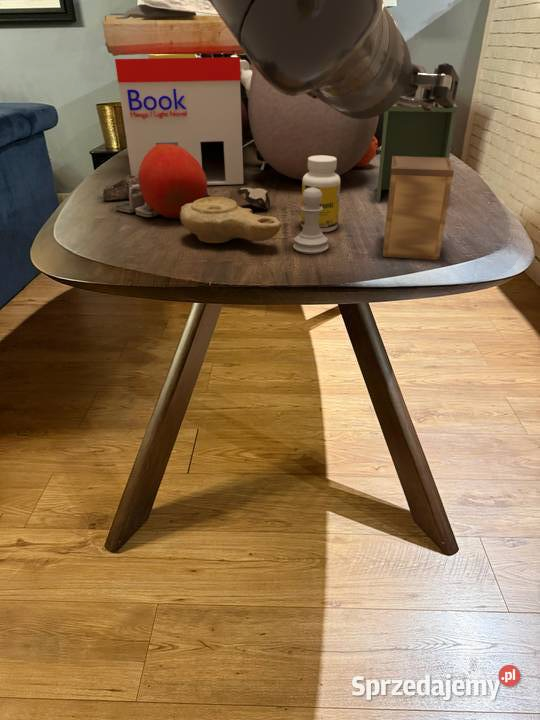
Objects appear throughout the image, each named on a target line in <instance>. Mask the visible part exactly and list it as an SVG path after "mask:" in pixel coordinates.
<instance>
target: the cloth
mask: <svg viewBox="0 0 540 720" xmlns="http://www.w3.org/2000/svg"><path fill="white" fill-rule="evenodd" d="M109 16H123V17H116V18H117V19H127V18H129V17H133V18H161V17H185V16H198V14H197V13H196V12H188V11H180V10H172V9H165V8H157V7H151V6H148V5H146V4H145V3H143V4H141V3H140V4H138V5H135V6H134V7H132V8H130V9H128V10H125V12H118V13H117V12H116V13H110V15H109Z"/></svg>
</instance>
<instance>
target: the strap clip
mask: <svg viewBox="0 0 540 720" xmlns="http://www.w3.org/2000/svg"><path fill="white" fill-rule="evenodd" d="M139 187H140V185H139V184H136V185H132V186H131V187H130V188H129V199H128V202H125V203H122V204H118V205H116V206H115V209H116V210H118V211H119V212H124V213H128V214H131V213H134V212H135V215H137V216H140V217H145V218H152V217H156V216H159V215H161V214H160V213H158V212H157V211H155V210H154V209H152V208H151V207H149V206H148V205H147V204H146V203H145V201H144V198H143V195H142V192H138V193H134V194H132V190H133V189H135V188H139Z"/></svg>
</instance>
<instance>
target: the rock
mask: <svg viewBox="0 0 540 720" xmlns="http://www.w3.org/2000/svg"><path fill="white" fill-rule="evenodd" d="M136 184H139V178H138V175H136V176H133V175H131V174H128V175H127V176H125V177H123V178H122V179H120V180H118V181H117V182H115V183H113V184H110V185H108V186H107V185H106V187H104V188H103V191H102V192H103V193H102V195H103V199H104V201H105V202H110V201H121V200H129V188H130V187H131V186H132V185H136ZM138 192H141V189H140V187H139V188H135V189H133V190H132V194H134V193H138Z"/></svg>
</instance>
